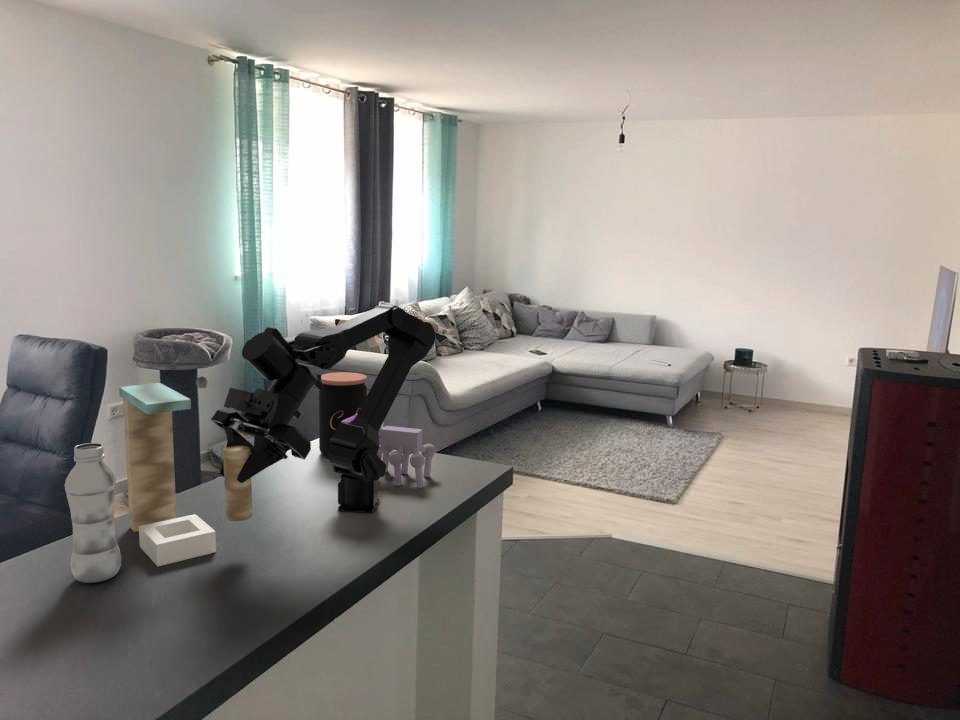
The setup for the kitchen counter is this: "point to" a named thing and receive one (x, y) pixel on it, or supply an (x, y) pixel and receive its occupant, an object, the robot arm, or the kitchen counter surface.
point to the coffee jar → (338, 403)
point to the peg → (236, 484)
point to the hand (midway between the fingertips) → (230, 478)
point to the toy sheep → (403, 451)
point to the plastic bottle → (92, 516)
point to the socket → (177, 539)
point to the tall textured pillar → (150, 451)
